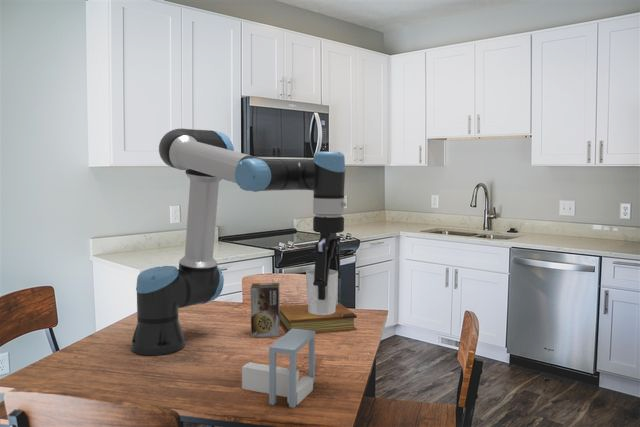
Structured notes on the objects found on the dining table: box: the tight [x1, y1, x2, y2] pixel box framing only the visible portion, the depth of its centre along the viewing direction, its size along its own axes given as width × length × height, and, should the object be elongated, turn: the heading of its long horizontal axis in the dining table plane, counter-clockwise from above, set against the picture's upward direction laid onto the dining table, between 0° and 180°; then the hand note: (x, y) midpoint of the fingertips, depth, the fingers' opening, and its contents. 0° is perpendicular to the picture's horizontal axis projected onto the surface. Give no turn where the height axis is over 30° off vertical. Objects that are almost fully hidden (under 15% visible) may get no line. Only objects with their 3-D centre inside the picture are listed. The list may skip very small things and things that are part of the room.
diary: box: [280, 302, 358, 335], centre depth 183 cm, size 23×19×6 cm
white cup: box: [305, 268, 339, 315], centre depth 131 cm, size 8×8×10 cm
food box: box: [249, 282, 281, 338], centre depth 171 cm, size 9×6×16 cm
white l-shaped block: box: [241, 361, 314, 406], centre depth 128 cm, size 16×9×6 cm, turn 68°
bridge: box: [268, 328, 316, 409], centre depth 126 cm, size 6×15×13 cm, turn 163°
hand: (327, 308), depth 131 cm, fingers closed on white cup, 7 cm apart
